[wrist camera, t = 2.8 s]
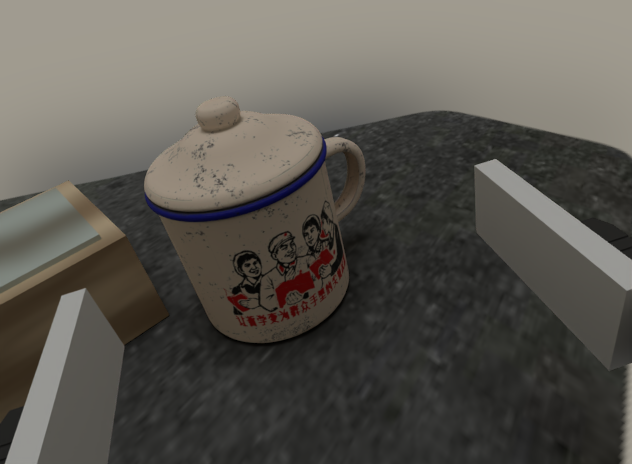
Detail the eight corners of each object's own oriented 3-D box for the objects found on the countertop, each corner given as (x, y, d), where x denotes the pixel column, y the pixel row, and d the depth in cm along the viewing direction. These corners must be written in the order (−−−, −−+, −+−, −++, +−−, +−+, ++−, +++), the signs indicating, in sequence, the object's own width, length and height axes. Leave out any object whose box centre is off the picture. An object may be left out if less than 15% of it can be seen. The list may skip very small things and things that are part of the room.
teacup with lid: (249, 381, 23) (154, 175, 16) (181, 293, 30) (93, 120, 23) (424, 259, 28) (404, 58, 21) (331, 206, 34) (294, 41, 28)
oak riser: (-49, 335, 31) (-119, 262, 28) (108, 248, 36) (66, 176, 32) (-27, 444, 23) (-119, 363, 20) (169, 315, 28) (123, 230, 25)
